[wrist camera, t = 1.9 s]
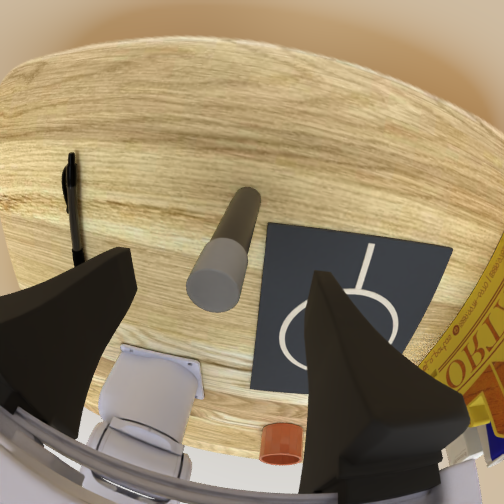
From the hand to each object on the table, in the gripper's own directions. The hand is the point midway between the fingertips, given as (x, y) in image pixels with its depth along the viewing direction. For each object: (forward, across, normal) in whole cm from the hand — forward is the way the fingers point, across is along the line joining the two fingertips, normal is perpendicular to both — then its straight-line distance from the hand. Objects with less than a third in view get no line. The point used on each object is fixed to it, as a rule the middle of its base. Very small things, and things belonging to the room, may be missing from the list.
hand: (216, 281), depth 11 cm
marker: (+9, 0, 0) cm, 9 cm away
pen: (+9, +15, +4) cm, 18 cm away
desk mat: (+9, -9, +12) cm, 17 cm away
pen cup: (+9, -7, +34) cm, 35 cm away
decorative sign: (+10, -23, +8) cm, 26 cm away
